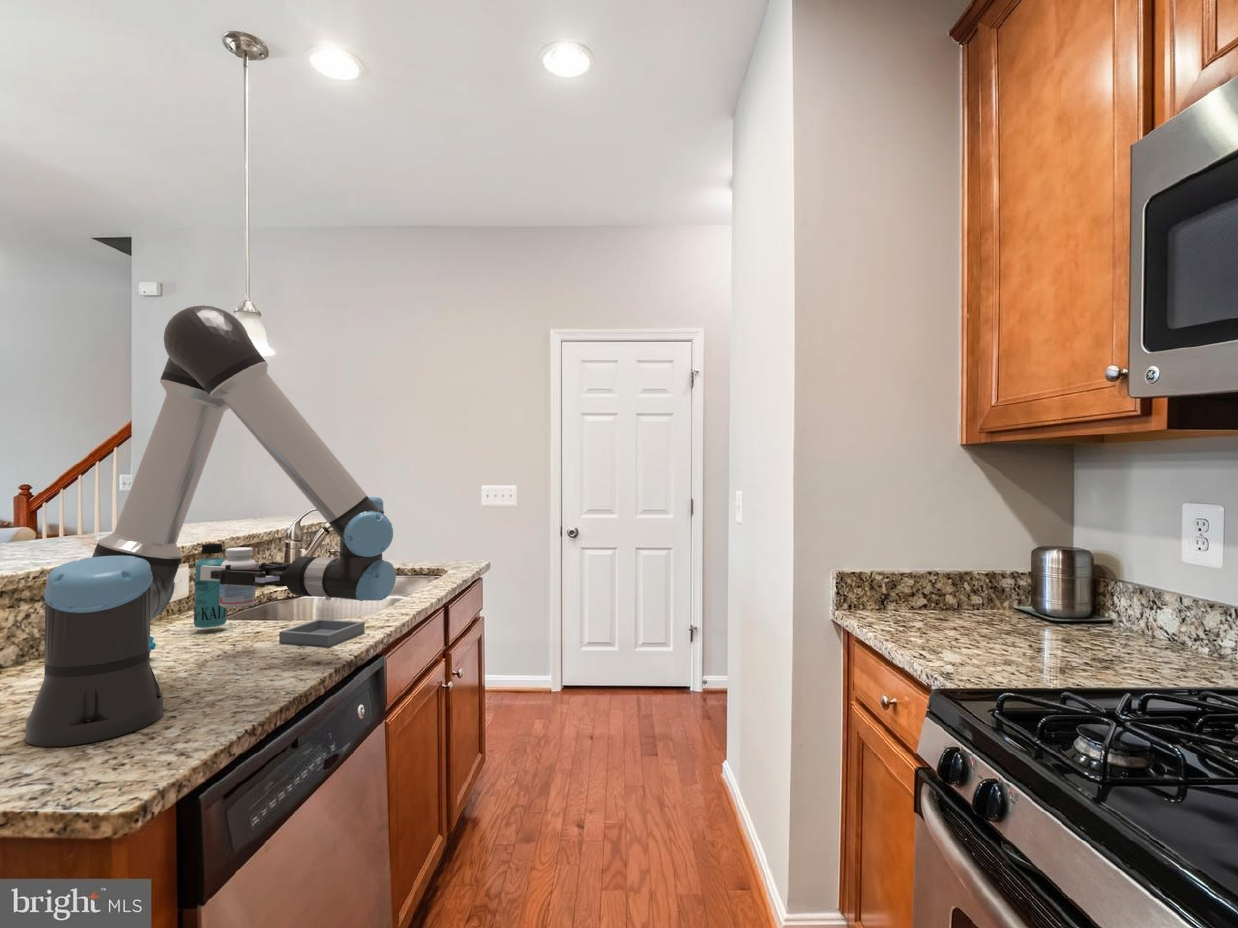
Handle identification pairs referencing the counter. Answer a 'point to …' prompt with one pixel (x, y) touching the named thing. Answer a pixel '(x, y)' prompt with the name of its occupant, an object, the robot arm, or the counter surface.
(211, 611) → the beverage bottle
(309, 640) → the tray
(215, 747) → the counter surface
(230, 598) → the pill bottle
